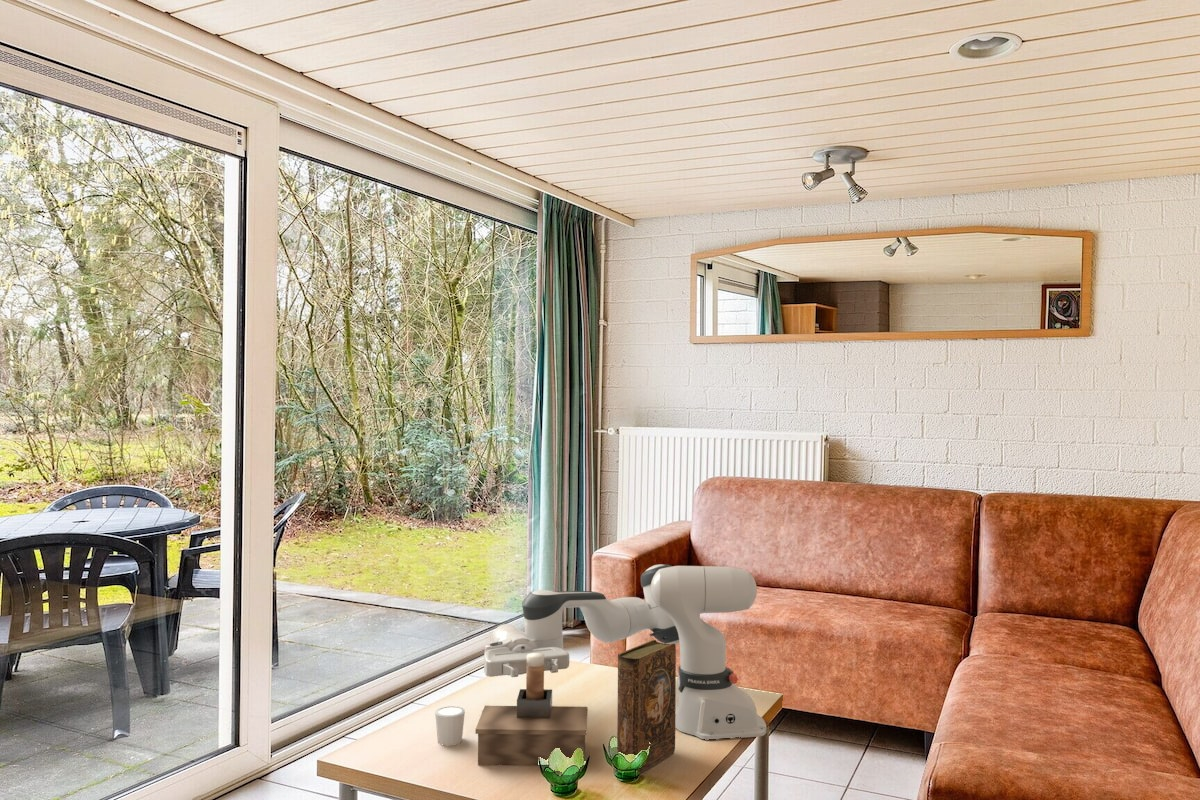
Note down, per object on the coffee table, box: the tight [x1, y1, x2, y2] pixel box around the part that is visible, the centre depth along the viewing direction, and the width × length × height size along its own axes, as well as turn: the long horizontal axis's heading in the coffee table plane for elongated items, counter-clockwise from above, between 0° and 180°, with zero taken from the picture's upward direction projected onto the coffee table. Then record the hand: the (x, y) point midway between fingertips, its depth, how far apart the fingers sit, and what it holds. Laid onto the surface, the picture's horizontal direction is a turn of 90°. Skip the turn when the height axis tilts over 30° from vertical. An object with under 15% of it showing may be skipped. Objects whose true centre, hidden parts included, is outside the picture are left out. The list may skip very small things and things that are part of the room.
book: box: [616, 639, 677, 776], centre depth 190 cm, size 16×6×25 cm, turn 144°
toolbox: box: [475, 688, 588, 767], centre depth 195 cm, size 24×14×12 cm, turn 90°
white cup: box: [434, 705, 466, 746], centre depth 202 cm, size 7×7×7 cm
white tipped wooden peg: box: [525, 653, 545, 699], centre depth 198 cm, size 4×4×13 cm
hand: (535, 671), depth 198 cm, fingers open, 8 cm apart
